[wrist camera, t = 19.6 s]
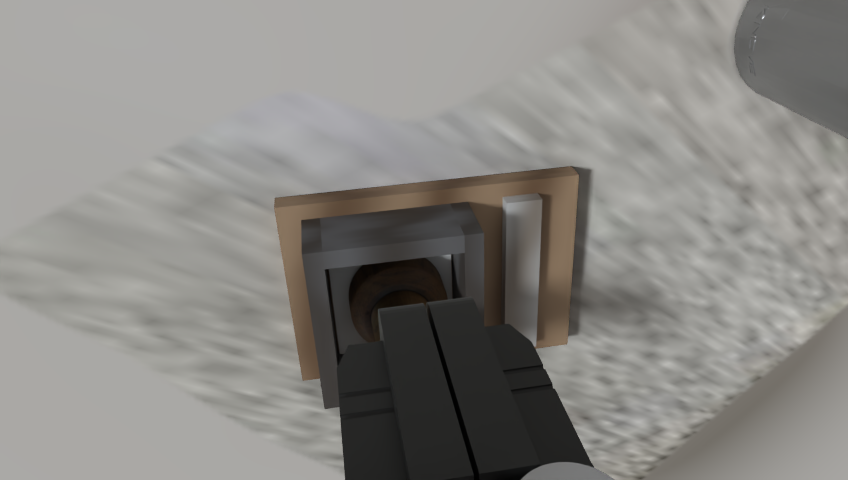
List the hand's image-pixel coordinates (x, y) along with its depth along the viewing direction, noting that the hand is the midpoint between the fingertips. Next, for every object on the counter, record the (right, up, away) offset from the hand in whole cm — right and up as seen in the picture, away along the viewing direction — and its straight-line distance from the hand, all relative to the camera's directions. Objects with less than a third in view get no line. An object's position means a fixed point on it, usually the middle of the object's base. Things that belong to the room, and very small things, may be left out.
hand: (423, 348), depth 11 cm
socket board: (0, -1, +38) cm, 38 cm away
